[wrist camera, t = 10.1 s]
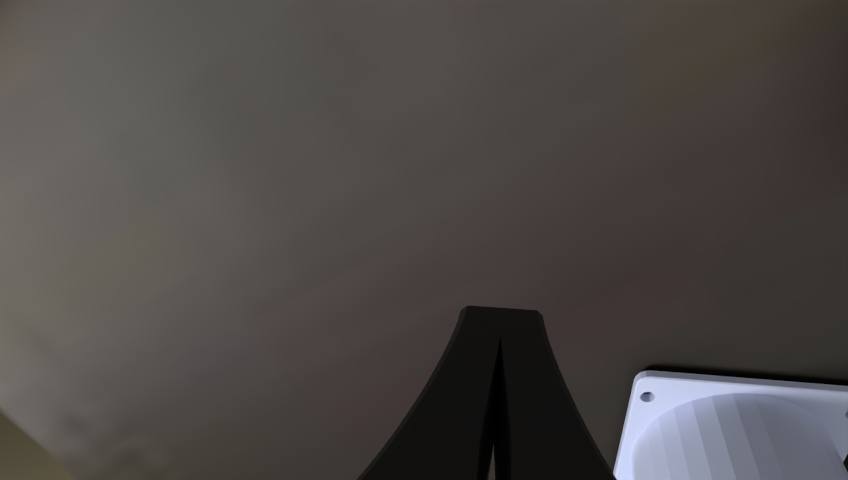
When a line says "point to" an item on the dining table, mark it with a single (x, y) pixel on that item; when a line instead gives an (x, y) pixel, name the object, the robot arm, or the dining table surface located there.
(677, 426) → the robot arm
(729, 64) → the dining table surface
